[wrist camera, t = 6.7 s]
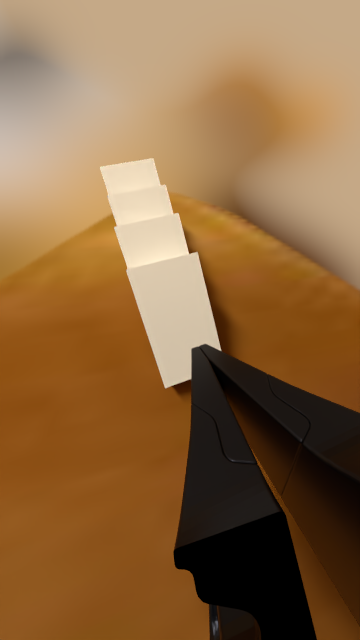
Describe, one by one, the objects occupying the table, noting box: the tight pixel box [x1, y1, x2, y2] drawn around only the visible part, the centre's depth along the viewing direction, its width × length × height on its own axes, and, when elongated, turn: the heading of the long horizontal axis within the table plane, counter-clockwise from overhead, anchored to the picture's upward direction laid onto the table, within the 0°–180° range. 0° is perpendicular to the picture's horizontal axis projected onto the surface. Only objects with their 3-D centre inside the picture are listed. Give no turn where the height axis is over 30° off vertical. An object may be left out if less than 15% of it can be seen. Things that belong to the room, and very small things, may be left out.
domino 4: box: [126, 252, 221, 388], centre depth 12 cm, size 2×6×10 cm
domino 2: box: [107, 185, 173, 226], centre depth 15 cm, size 2×6×10 cm
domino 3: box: [114, 213, 189, 269], centre depth 14 cm, size 2×6×10 cm
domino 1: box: [100, 158, 160, 195], centre depth 16 cm, size 2×6×10 cm
